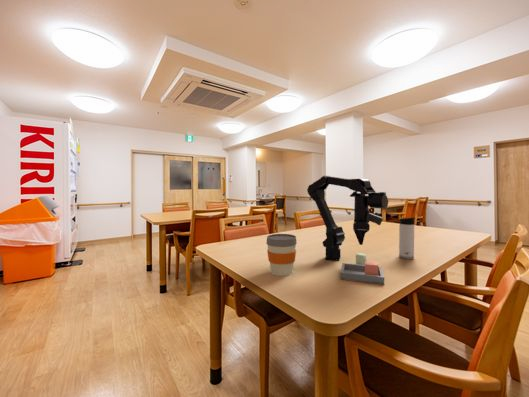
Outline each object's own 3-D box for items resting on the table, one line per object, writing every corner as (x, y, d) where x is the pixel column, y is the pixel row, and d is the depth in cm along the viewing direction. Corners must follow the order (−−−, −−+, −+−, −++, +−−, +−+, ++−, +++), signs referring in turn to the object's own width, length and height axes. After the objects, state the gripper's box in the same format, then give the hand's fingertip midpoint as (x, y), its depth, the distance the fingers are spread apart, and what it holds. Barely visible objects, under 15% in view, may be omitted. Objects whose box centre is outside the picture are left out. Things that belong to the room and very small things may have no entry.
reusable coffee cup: (262, 269, 102) (261, 235, 102) (287, 265, 107) (287, 232, 107) (274, 279, 91) (274, 241, 90) (302, 274, 96) (302, 238, 95)
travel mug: (409, 260, 112) (410, 218, 111) (396, 256, 118) (396, 216, 117) (417, 258, 115) (418, 217, 114) (404, 254, 121) (404, 215, 120)
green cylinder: (355, 266, 104) (355, 255, 104) (355, 263, 108) (355, 253, 108) (366, 268, 103) (366, 256, 102) (366, 264, 107) (366, 253, 106)
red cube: (365, 277, 91) (365, 264, 91) (364, 273, 95) (365, 260, 95) (378, 278, 89) (378, 265, 89) (377, 274, 93) (377, 261, 93)
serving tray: (340, 279, 91) (340, 272, 90) (342, 268, 102) (342, 263, 102) (384, 284, 85) (384, 277, 85) (381, 273, 96) (381, 266, 96)
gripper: (383, 209, 92) (383, 249, 93) (380, 205, 110) (379, 239, 110) (353, 209, 97) (352, 246, 97) (354, 205, 114) (354, 237, 115)
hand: (360, 242), depth 105 cm, fingers open, 9 cm apart
